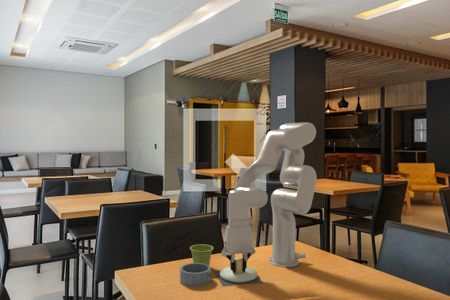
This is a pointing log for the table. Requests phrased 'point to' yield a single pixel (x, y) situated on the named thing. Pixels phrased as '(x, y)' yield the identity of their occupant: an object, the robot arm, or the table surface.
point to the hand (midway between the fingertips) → (238, 270)
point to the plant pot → (201, 253)
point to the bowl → (195, 274)
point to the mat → (227, 283)
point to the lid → (238, 273)
